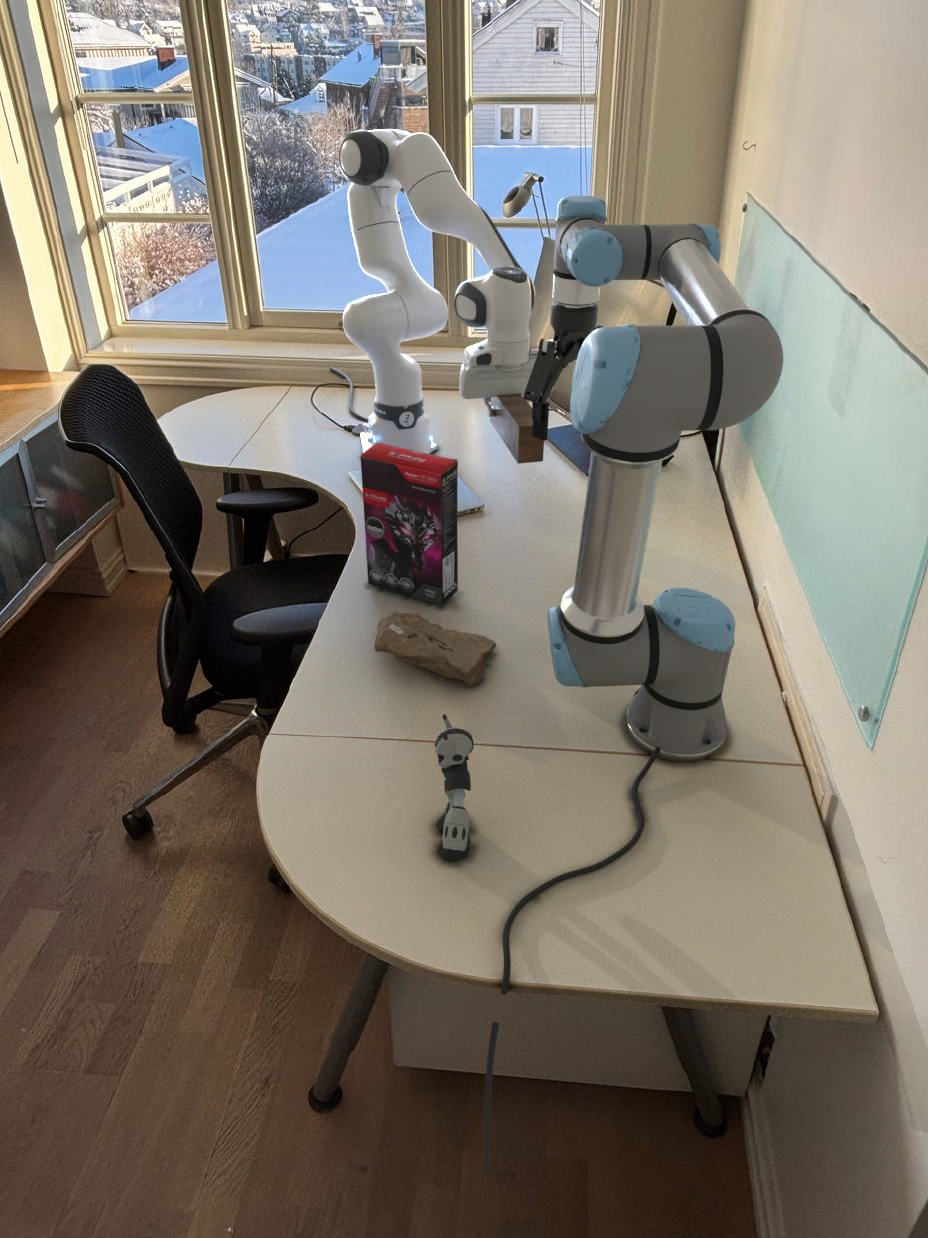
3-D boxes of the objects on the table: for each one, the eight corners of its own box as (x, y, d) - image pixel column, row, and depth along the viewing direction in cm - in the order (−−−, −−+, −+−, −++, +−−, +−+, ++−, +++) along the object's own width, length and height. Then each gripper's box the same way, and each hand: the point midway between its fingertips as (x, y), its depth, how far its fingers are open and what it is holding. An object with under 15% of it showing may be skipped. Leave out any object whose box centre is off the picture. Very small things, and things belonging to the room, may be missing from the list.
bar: (543, 461, 184) (545, 424, 180) (517, 463, 183) (519, 426, 179) (513, 419, 203) (514, 384, 199) (490, 421, 202) (490, 386, 198)
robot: (476, 896, 116) (478, 779, 105) (437, 897, 116) (436, 781, 105) (467, 786, 132) (469, 675, 121) (434, 787, 132) (432, 676, 121)
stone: (350, 659, 152) (357, 626, 150) (382, 628, 166) (388, 598, 163) (469, 701, 149) (478, 669, 146) (492, 666, 162) (500, 636, 160)
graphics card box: (364, 585, 178) (356, 453, 162) (384, 569, 183) (377, 440, 167) (442, 608, 171) (441, 473, 156) (460, 591, 176) (461, 458, 161)
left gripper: (551, 343, 195) (548, 406, 203) (457, 349, 191) (457, 413, 199) (560, 352, 190) (556, 416, 197) (463, 358, 186) (463, 423, 194)
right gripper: (604, 284, 157) (593, 403, 169) (504, 312, 142) (500, 440, 154) (640, 292, 153) (626, 414, 165) (540, 322, 138) (533, 454, 150)
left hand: (506, 414), depth 198 cm, fingers closed on bar, 5 cm apart
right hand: (565, 427), depth 159 cm, fingers open, 13 cm apart
